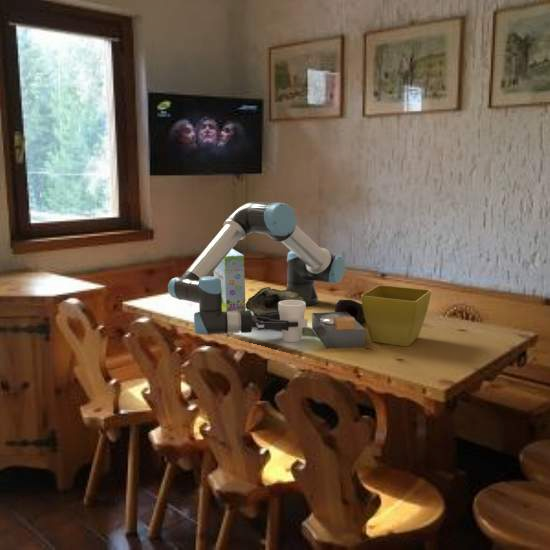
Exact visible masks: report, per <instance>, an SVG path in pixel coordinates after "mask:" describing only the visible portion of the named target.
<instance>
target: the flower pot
mask: <svg viewBox="0 0 550 550" xmlns="http://www.w3.org/2000/svg"><path fill="white" fill-rule="evenodd" d="M431 295H432V290H431V289H425V288H413V287H404V286H396V285H386V284H385V285H384V284H379V285H376V286H375V287H373V288H371V289H369V290H368V291H365V292H364V293H362V294H361V295H360V298H361V304H362V306H363V312H364V317H365V320H364V321H365V324H366V327H367V332H368V333H369V337H370V340H371V341H372V343H373V342H374V343H380V344H386V345H392V346H400V347H408V346H410V345H411V344H412V343H413V342H415V340H416V339H418V338H419V336H420V333H421V330H422V328H423V325H424V321H425V319H426V315H427V312H428V309H429V305H430V301H431V300H430V299H431Z"/></svg>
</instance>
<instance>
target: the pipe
mask: <svg viewBox="0 0 550 550" xmlns="http://www.w3.org/2000/svg"><path fill="white" fill-rule="evenodd" d="M334 312H348V313H349V314H350V315H351V316H352V317H354V318H355V320H356V321H357V322H358V323H359V324H360V323H362V322H364V321H365V317H364V312H363V306H362V303H361V302H357V301H356V300H353V299H339V300H338V301H337V303H336V304H335V306H334Z"/></svg>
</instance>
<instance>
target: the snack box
mask: <svg viewBox="0 0 550 550" xmlns="http://www.w3.org/2000/svg"><path fill="white" fill-rule="evenodd" d="M213 276H215V277H218V278H220V280H221V288H222V311H223V312H225V311H226V312H227V311H238V312H240V311H247V309H246V277H245V255H244V254H243V253H241V252H239V251H237V250H235V249H234V248H232V249H231V251H230V252H229V253H228V254H227V255H226V257H225V258H224V259H223V260H222V262H221V263H220V264H219V265H218V266H217V268H216V269H215V270H214V271H213Z"/></svg>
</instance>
